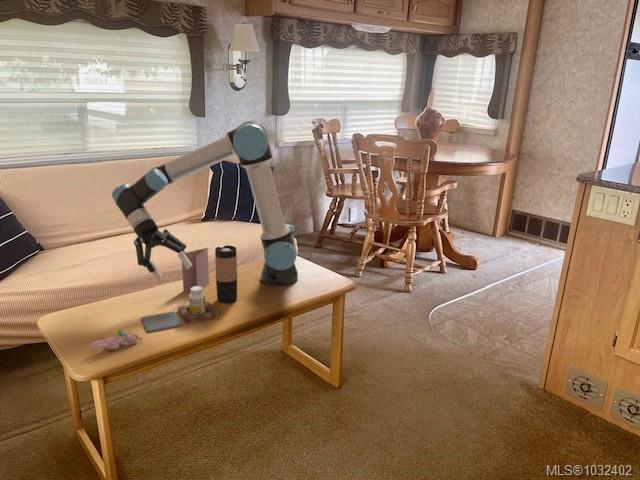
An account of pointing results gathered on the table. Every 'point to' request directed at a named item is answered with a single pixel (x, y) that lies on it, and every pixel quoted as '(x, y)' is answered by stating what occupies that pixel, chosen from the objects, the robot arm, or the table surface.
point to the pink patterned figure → (115, 341)
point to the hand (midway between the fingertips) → (175, 273)
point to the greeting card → (196, 270)
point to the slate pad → (161, 321)
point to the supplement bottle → (197, 301)
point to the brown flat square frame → (198, 317)
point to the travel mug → (226, 274)
